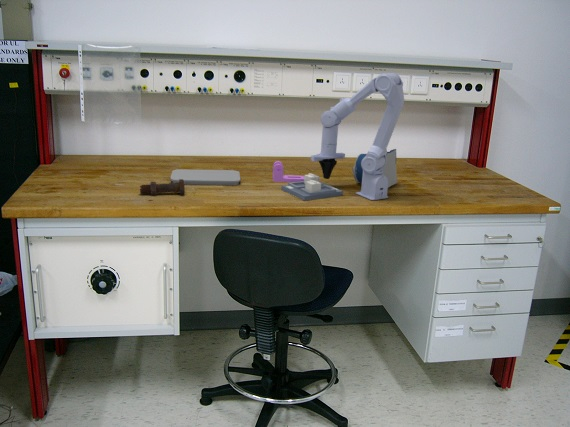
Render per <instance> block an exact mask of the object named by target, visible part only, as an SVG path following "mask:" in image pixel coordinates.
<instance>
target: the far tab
mask: <svg viewBox="0 0 570 427" xmlns="http://www.w3.org/2000/svg"><path fill="white" fill-rule="evenodd" d="M303 176H304V184H305V183H306V182H307V181H310V180H314V181H317V182H319V181H320V176H319V175H316V174H315V173H314V174H313V173H311V172H309V173H308V174H304V175H303Z"/></svg>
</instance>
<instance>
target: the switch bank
mask: <svg viewBox="0 0 570 427" xmlns="http://www.w3.org/2000/svg"><path fill="white" fill-rule="evenodd" d="M287 183H288V184H283V185H281V186H280V187H281V188H280V189H281V191H283V192H285V193H287V192H288V193H287V194H289V193H290V194H289V195H291V194H292V195H291V196H293V195H294V197H295V196H296V197H295V198H297V197H298V199H299V198H300V199H299V200H301V199H302V201H303V200H304V201H303V202H305V201H313V200H318V199H319V200H320V199H326V198H332V197H334V198H335V197H339V196H340V197H341V196H343V195H344V191H343V190H341V189H339V188H336V187H334V186H332V185H330V184H327V183H325V182H322V181H320V180H319V183H321V191H316V192H309V191H307V190H305V184H304V181H301V182H287Z"/></svg>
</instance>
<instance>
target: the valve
mask: <svg viewBox="0 0 570 427" xmlns="http://www.w3.org/2000/svg"><path fill="white" fill-rule="evenodd" d="M366 155H367V153H360V154H359V155H357V157H356V159H355V163H354V166H353V167H351V168H352V175H353V178H354V181H355V183H359V184H362V176H363V169H362V166H361V162H362V159H363V158H364V157H365V156H366ZM382 169H383V175H384V176H386V177H387V179H388V188H390V187H392V186H395V185H396V184H398V175H397V172H398V171H397V148H394V149H391V150H390V151H387V154H386V164H385V166H384V167H383V168H382Z"/></svg>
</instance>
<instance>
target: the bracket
mask: <svg viewBox="0 0 570 427" xmlns="http://www.w3.org/2000/svg"><path fill="white" fill-rule="evenodd" d="M272 181H273V182H277V183H279V182H282V183H283V182H284V183H293V182H301V181H304V175H296V174H295V175H292V174H291V175H290V174H284V165H283V163H282V161H279V160H277V161H275V162H274V163H273V166H272Z"/></svg>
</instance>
